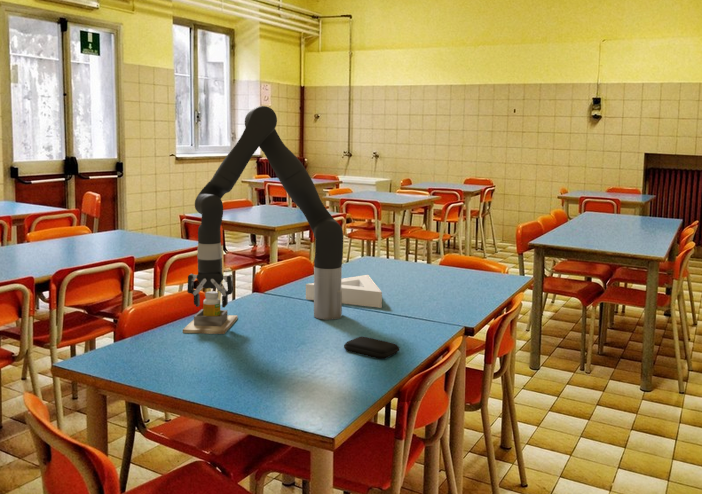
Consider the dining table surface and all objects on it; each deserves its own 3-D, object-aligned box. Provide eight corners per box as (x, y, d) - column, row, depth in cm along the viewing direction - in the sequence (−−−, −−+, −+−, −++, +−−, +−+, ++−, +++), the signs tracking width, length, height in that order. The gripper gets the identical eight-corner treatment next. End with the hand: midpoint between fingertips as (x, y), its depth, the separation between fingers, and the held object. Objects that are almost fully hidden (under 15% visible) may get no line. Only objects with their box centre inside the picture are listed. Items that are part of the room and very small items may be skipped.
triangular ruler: (305, 300, 258) (305, 284, 257) (333, 286, 282) (333, 271, 281) (381, 309, 247) (381, 292, 246) (403, 293, 271) (404, 278, 270)
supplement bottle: (216, 324, 219) (216, 294, 217) (200, 323, 220) (200, 293, 218) (223, 320, 224) (222, 291, 222) (207, 319, 225) (206, 290, 223)
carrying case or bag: (404, 352, 199) (362, 342, 207) (404, 342, 198) (362, 333, 207) (383, 362, 190) (340, 351, 199) (384, 351, 189) (341, 341, 198)
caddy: (237, 318, 230) (237, 306, 230) (224, 334, 213) (224, 321, 212) (199, 317, 231) (198, 305, 231) (182, 332, 213) (182, 320, 213)
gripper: (234, 255, 221) (235, 304, 224) (191, 254, 222) (192, 303, 225) (229, 259, 214) (230, 310, 217) (184, 258, 215) (185, 309, 218)
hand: (210, 306), depth 221 cm, fingers open, 8 cm apart
